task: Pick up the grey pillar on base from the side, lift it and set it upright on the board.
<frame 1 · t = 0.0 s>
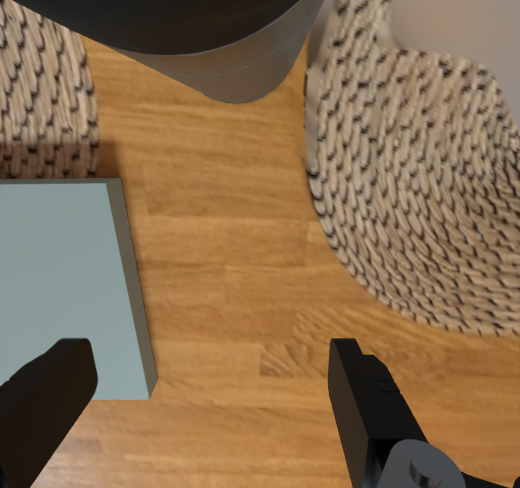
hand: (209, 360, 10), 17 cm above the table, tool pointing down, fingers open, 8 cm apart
board: (29, 293, 29), on the table
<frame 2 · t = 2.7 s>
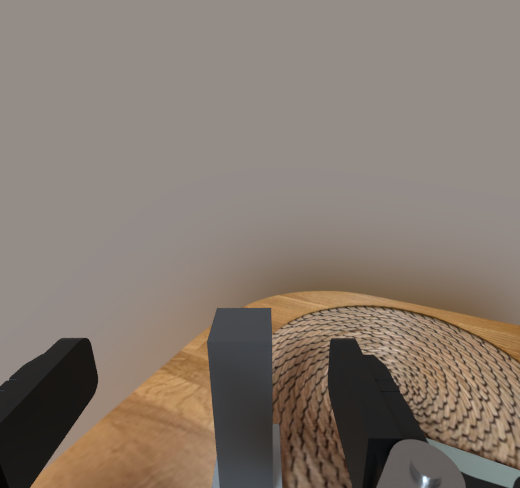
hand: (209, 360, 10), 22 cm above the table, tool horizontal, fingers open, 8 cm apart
grey pillar on base: (248, 479, 28), on the table
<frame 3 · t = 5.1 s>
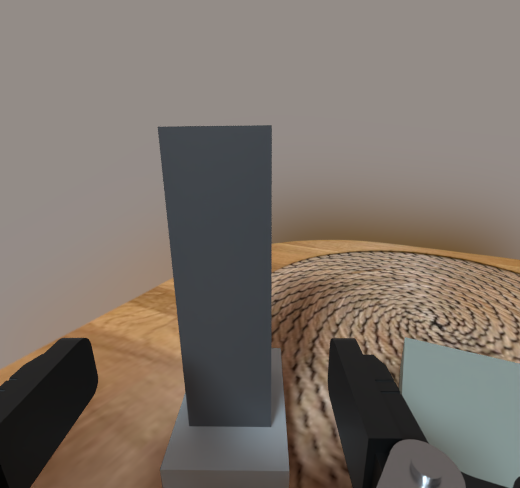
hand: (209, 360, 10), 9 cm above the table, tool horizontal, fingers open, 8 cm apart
grey pillar on base: (235, 414, 19), on the table
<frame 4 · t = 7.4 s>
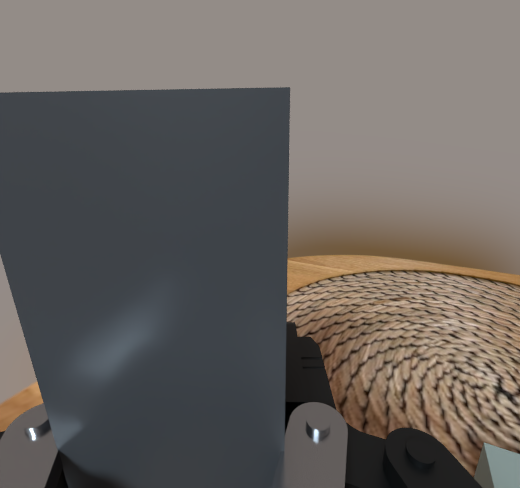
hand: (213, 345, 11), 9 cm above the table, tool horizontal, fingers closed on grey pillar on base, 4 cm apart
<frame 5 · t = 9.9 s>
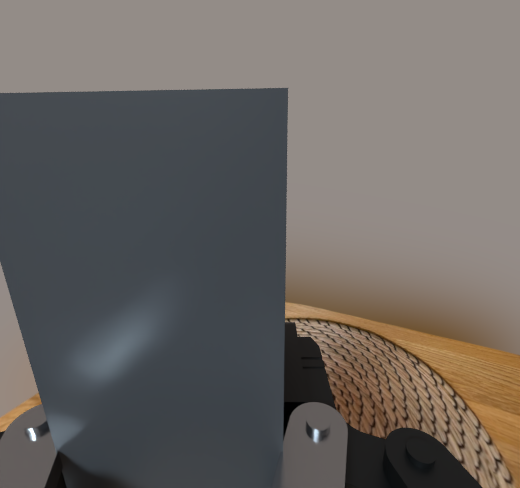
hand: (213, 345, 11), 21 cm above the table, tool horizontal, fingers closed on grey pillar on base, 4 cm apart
when the fingers open (13 cm above the table, at t = 12.8 s): grey pillar on base drops 1 cm, resting on board.
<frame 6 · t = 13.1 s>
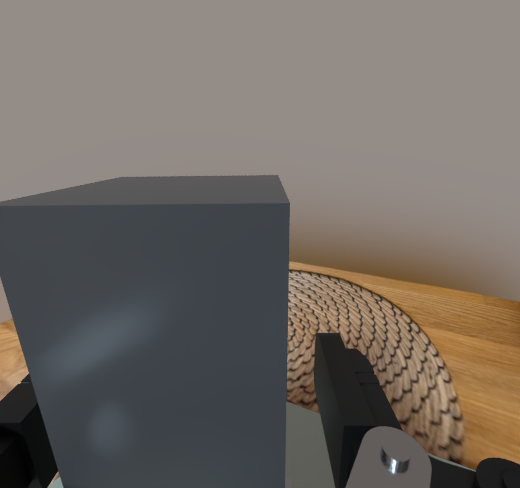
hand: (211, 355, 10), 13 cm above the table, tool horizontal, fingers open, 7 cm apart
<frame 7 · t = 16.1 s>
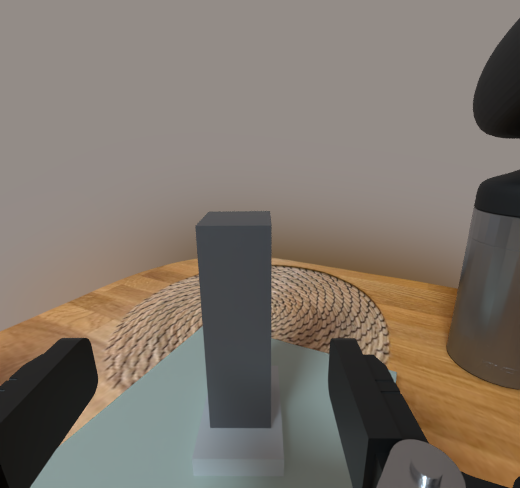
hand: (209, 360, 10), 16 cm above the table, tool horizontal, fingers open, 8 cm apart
grey pillar on base: (243, 418, 24), point 2 cm above the table, touching board
board: (243, 441, 25), on the table
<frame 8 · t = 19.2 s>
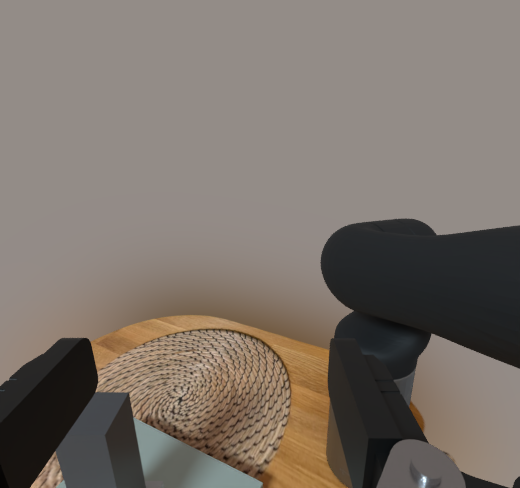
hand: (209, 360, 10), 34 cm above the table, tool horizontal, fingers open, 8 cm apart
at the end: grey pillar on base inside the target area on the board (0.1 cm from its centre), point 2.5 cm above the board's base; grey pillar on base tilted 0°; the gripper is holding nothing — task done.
